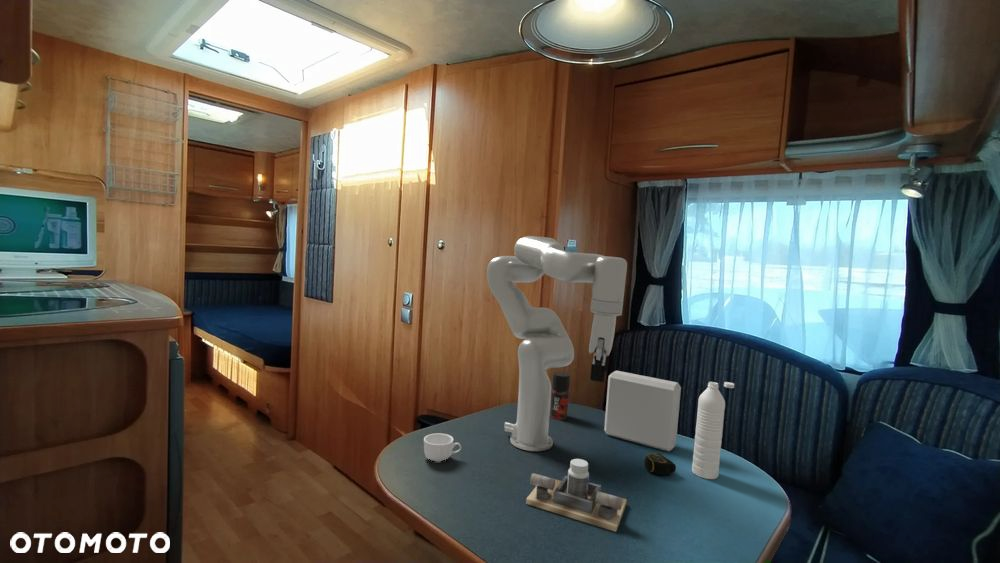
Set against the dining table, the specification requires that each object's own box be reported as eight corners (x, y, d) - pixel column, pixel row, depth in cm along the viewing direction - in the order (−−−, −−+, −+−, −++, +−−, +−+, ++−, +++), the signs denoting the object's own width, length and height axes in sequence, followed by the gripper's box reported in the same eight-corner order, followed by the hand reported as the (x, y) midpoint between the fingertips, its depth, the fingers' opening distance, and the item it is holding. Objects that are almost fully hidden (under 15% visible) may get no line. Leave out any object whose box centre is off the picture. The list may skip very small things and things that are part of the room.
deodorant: (549, 418, 157) (552, 375, 156) (550, 412, 163) (553, 371, 162) (566, 420, 156) (570, 377, 155) (567, 414, 162) (570, 372, 161)
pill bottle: (590, 503, 102) (593, 466, 102) (570, 504, 101) (573, 467, 101) (582, 492, 107) (584, 457, 106) (563, 493, 106) (565, 458, 105)
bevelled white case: (677, 445, 141) (683, 381, 139) (671, 454, 134) (677, 387, 133) (610, 427, 152) (615, 368, 151) (602, 435, 145) (607, 373, 144)
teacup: (421, 465, 118) (422, 444, 117) (424, 451, 125) (425, 432, 125) (460, 466, 118) (461, 445, 118) (460, 453, 126) (461, 433, 126)
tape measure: (676, 476, 121) (677, 462, 120) (654, 478, 118) (655, 464, 118) (659, 464, 127) (661, 451, 127) (638, 466, 125) (639, 453, 125)
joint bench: (525, 503, 103) (527, 479, 102) (543, 480, 113) (545, 458, 113) (616, 532, 94) (618, 505, 94) (626, 504, 105) (628, 480, 105)
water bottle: (698, 479, 119) (707, 385, 118) (687, 467, 126) (695, 378, 124) (731, 480, 120) (740, 387, 118) (718, 469, 126) (727, 380, 124)
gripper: (595, 301, 121) (588, 364, 123) (586, 309, 105) (578, 382, 106) (624, 305, 119) (617, 369, 120) (620, 314, 102) (611, 388, 104)
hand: (599, 375), depth 113 cm, fingers open, 9 cm apart
